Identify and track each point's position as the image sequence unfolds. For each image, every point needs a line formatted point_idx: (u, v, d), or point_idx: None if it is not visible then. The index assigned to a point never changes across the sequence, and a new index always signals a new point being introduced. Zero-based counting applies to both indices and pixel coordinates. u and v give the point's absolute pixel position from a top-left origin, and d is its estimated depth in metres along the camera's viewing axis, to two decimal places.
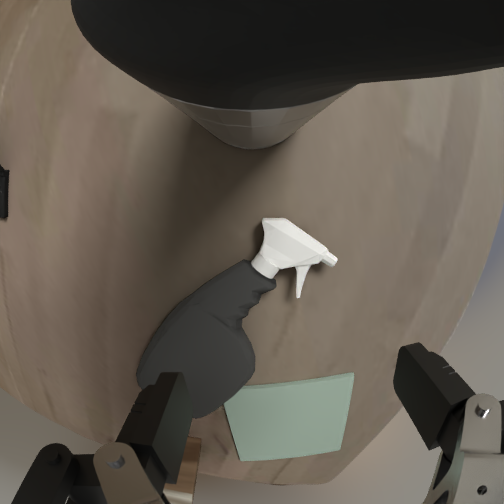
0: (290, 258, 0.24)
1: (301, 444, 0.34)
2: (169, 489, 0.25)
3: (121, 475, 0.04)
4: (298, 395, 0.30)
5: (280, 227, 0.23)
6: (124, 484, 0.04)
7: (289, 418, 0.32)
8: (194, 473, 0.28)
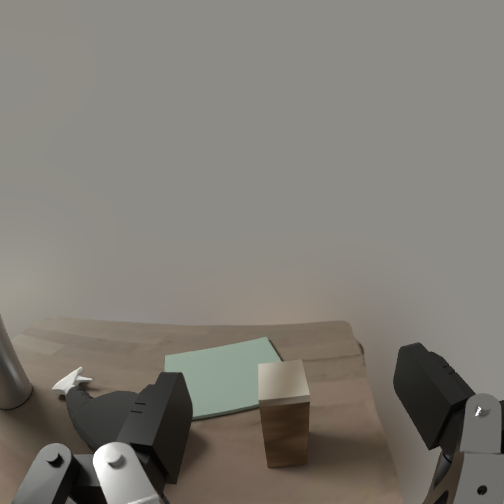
0: (70, 380, 0.34)
1: (253, 361, 0.41)
2: None
3: (121, 475, 0.04)
4: None
5: (57, 383, 0.33)
6: (124, 484, 0.04)
7: (208, 377, 0.38)
8: None
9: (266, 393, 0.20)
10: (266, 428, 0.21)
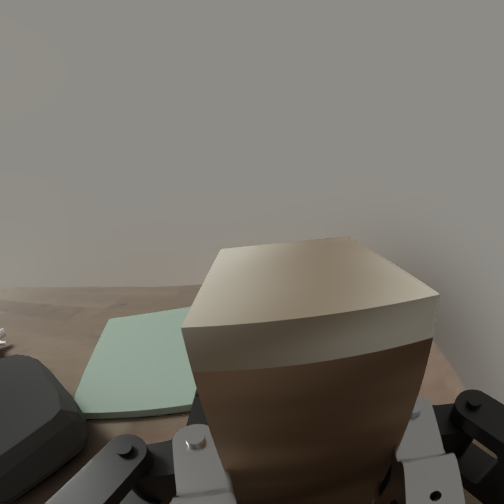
0: None
1: None
2: None
3: (199, 458, 0.05)
4: (114, 346, 0.23)
5: None
6: (215, 463, 0.05)
7: (160, 347, 0.22)
8: None
9: (229, 304, 0.04)
10: (239, 470, 0.05)
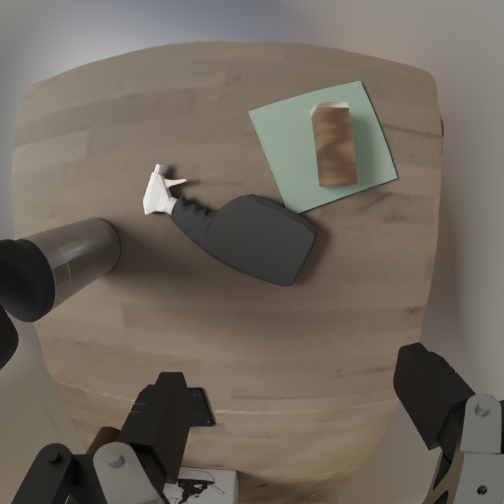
0: (161, 193, 0.37)
1: (354, 123, 0.36)
2: (315, 111, 0.33)
3: (121, 475, 0.04)
4: (280, 149, 0.37)
5: (146, 203, 0.38)
6: (124, 484, 0.04)
7: (313, 148, 0.37)
8: (314, 139, 0.36)
9: None
10: (324, 129, 0.32)
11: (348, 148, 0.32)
